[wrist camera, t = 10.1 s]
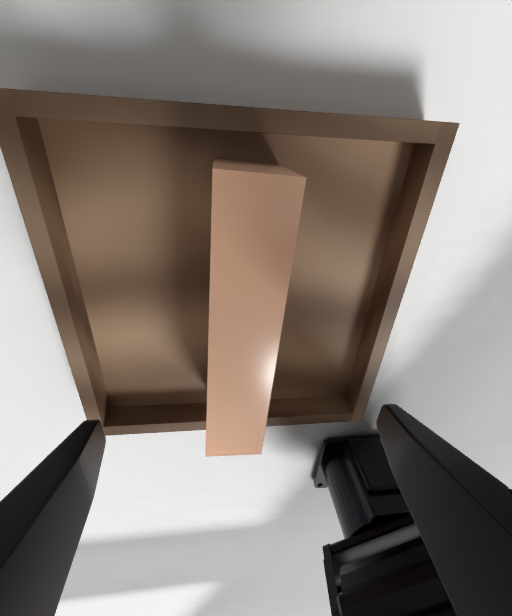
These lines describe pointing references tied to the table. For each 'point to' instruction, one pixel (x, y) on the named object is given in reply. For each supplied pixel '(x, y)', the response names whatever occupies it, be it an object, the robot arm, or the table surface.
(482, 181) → the table surface
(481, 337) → the table surface
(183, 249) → the tray
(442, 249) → the table surface
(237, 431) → the light brown rectangular block
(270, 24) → the table surface
